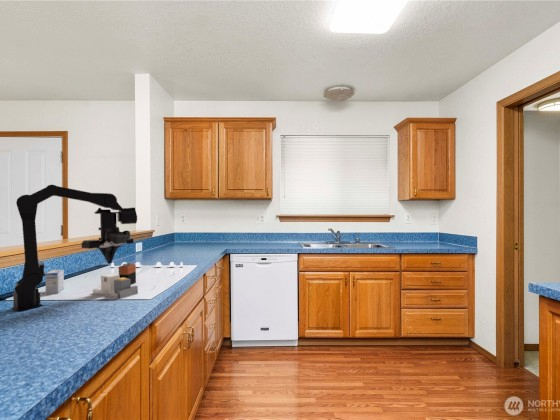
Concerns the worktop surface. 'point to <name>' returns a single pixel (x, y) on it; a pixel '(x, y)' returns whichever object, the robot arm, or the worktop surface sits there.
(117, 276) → the block
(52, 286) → the medicine box
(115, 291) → the relay block
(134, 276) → the battery
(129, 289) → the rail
